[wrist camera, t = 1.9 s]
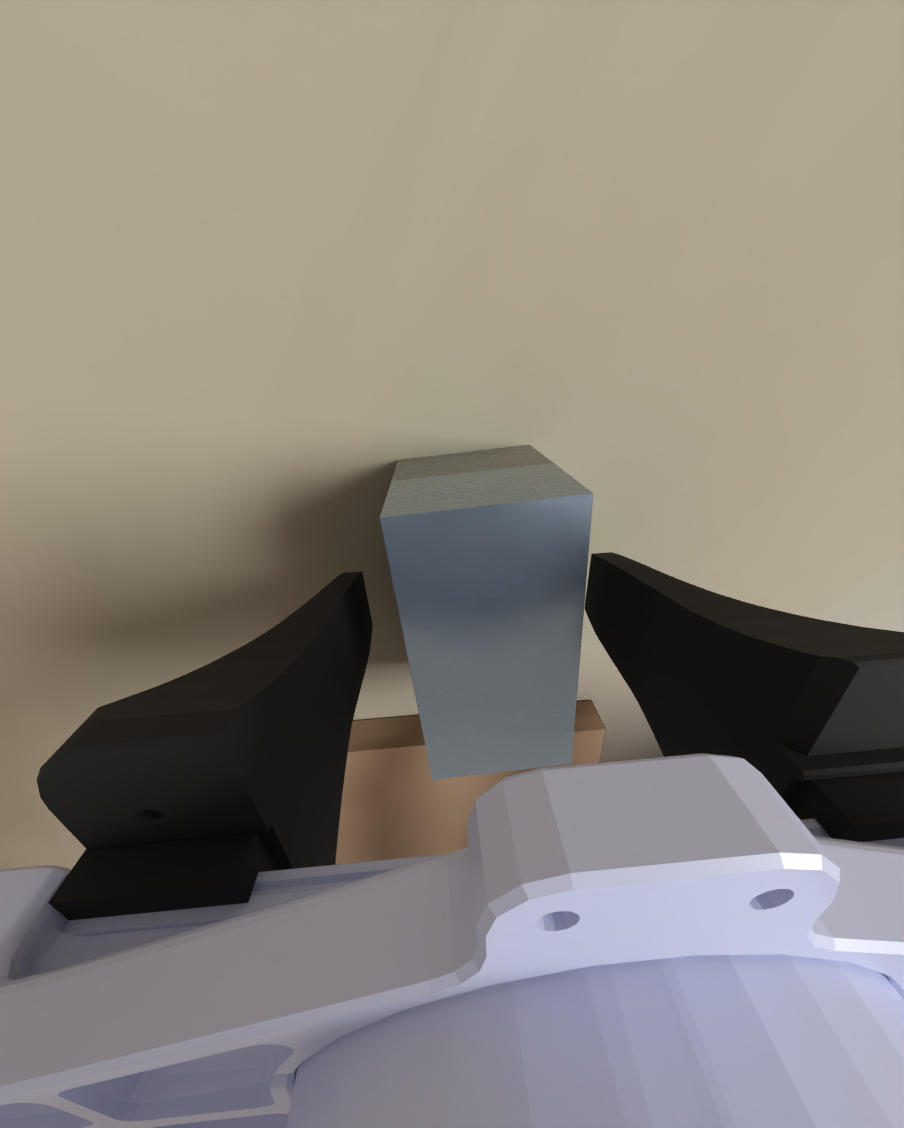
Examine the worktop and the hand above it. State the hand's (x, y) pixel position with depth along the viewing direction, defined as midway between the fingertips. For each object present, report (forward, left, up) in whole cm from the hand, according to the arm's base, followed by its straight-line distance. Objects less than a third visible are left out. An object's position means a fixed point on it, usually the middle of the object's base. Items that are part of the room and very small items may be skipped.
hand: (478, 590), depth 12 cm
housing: (0, 0, -2) cm, 2 cm away
